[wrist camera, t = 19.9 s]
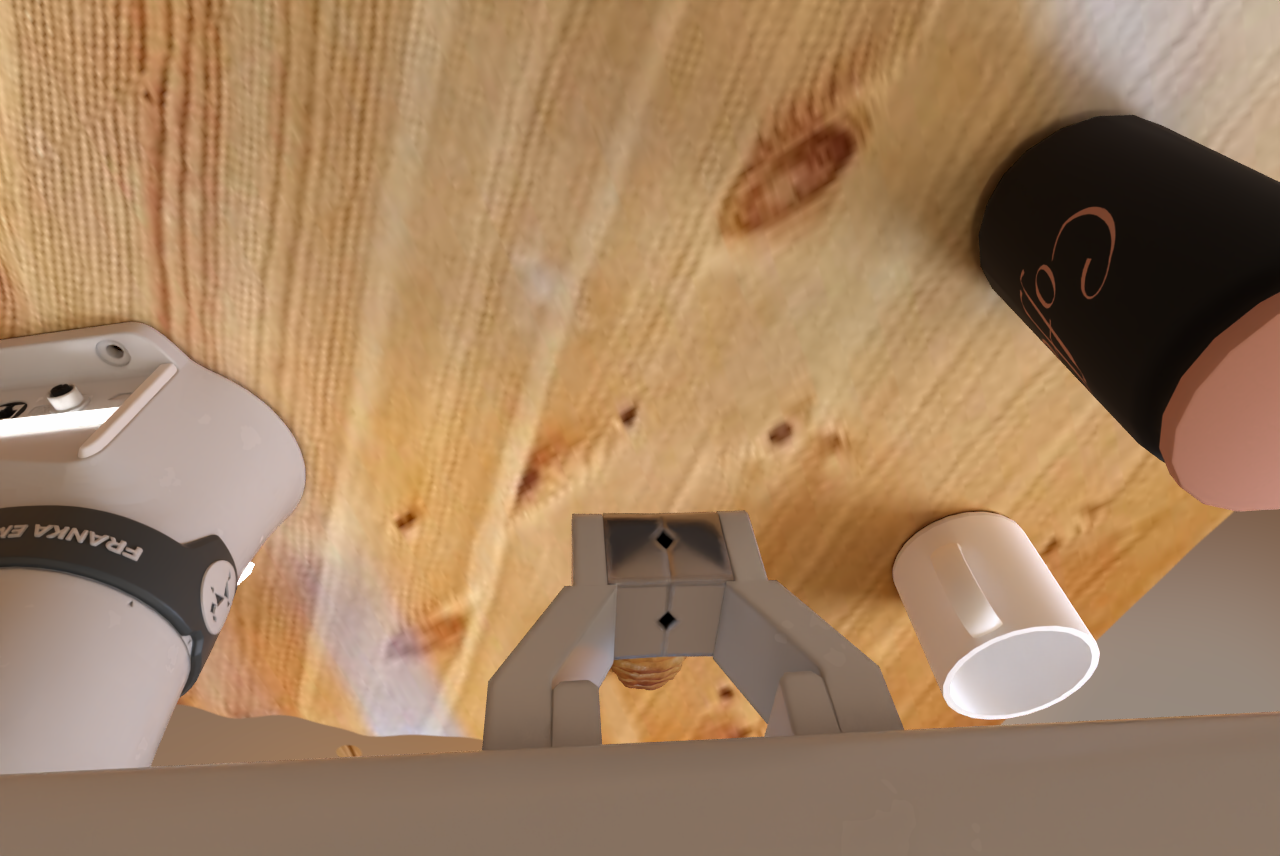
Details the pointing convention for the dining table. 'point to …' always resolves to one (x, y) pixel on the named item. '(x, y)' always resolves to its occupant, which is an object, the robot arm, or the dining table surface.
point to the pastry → (647, 671)
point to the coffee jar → (1153, 293)
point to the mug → (992, 617)
